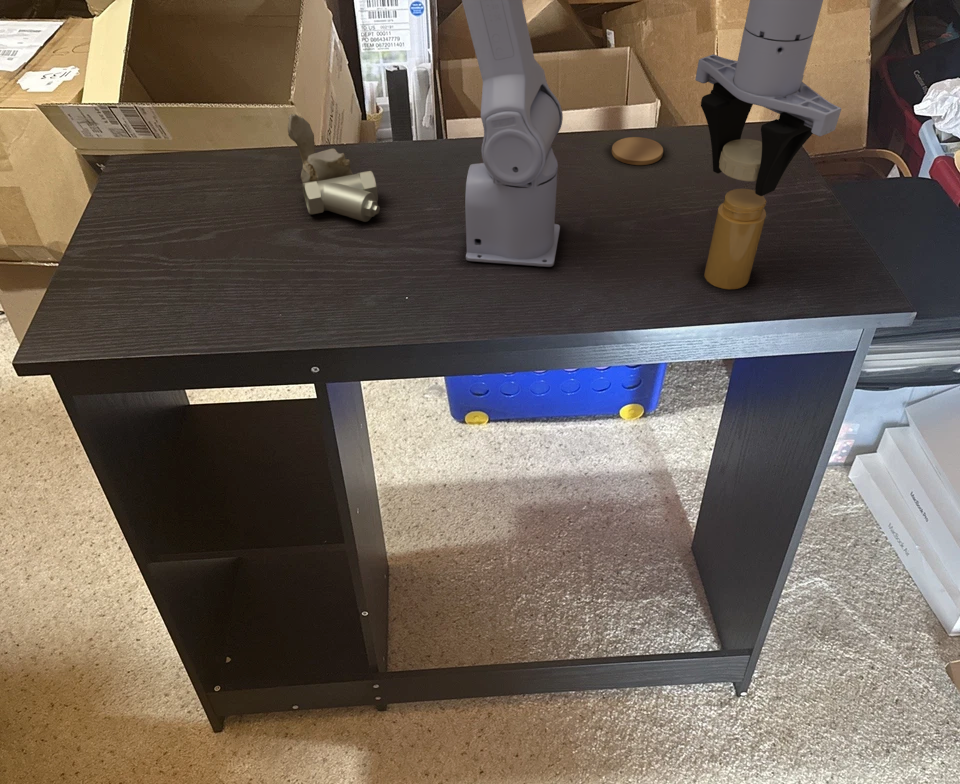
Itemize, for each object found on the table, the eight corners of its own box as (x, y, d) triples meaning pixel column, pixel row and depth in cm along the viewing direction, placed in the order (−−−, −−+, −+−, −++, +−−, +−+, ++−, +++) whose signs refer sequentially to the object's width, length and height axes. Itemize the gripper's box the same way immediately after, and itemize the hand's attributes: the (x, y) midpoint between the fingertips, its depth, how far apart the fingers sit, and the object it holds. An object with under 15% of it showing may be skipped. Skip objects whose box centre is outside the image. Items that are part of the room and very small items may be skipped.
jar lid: (784, 171, 78) (789, 154, 77) (746, 187, 77) (751, 169, 75) (744, 150, 81) (749, 133, 80) (707, 165, 79) (711, 148, 78)
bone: (360, 191, 97) (303, 118, 91) (317, 220, 99) (258, 151, 93) (362, 161, 103) (308, 90, 97) (321, 189, 105) (267, 122, 99)
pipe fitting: (387, 225, 95) (371, 193, 99) (384, 195, 92) (368, 163, 96) (318, 238, 94) (305, 205, 98) (313, 208, 91) (300, 175, 95)
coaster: (610, 163, 103) (610, 159, 103) (612, 140, 108) (613, 135, 107) (662, 166, 103) (663, 162, 102) (662, 142, 107) (663, 138, 106)
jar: (705, 288, 86) (722, 209, 79) (703, 263, 89) (719, 185, 82) (751, 290, 85) (772, 211, 78) (747, 265, 88) (767, 187, 82)
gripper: (882, 43, 67) (832, 198, 77) (746, -6, 75) (716, 140, 85) (826, 65, 65) (781, 222, 75) (690, 12, 73) (667, 160, 83)
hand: (743, 180), depth 80 cm, fingers closed on jar lid, 5 cm apart
